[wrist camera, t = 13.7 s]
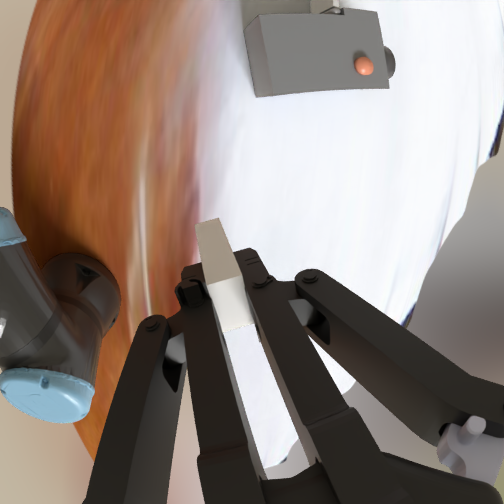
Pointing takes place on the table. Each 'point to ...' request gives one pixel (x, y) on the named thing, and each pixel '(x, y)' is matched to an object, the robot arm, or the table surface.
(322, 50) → the housing
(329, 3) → the side door
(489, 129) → the table surface
